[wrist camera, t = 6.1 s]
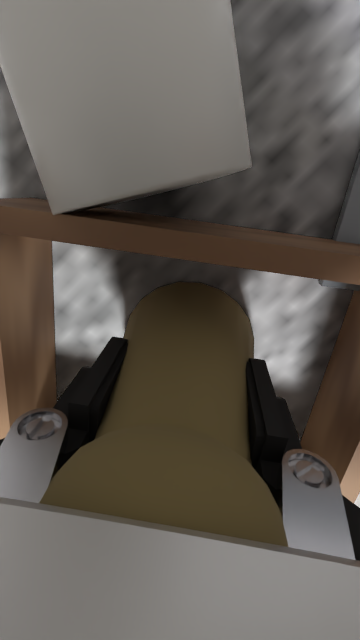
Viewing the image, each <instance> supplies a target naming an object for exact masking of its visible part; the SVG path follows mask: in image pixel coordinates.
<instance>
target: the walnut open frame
mask: <svg viewBox="0 0 360 640" xmlns="http://www.w3.org/2000/svg"><path fill="white" fill-rule="evenodd" d="M52 241H57V242H64V243H71V244H78V245H85V246H92V247H99V248H106V249H113V250H120V251H127V252H134V253H141V254H148V255H155V256H162V257H169V258H175V259H182V260H189V261H196V262H203V263H210V264H217V265H224V266H231V267H238V268H245V269H252V270H259V271H266V272H273V273H280V274H286V275H293V276H300V277H307V278H314V279H321V280H328V281H335V282H342V283H349V284H356V285H360V244H354V243H346V242H339V241H335V240H332V239H324V238H317V237H310V236H303V235H296V234H289V233H281V232H274V231H267V230H260V229H253V228H245V227H238V226H231V225H224V224H217V223H209V222H202V221H195V220H188V219H181V218H174V217H166V216H159V215H152V214H145V213H138V212H130V211H123V210H116V209H109V208H102V207H99V208H94V209H89V210H83V211H76V212H69V213H62V214H56V215H53V214H52V211H51V208H50V205H49V203H48V200H44V199H37V198H6V199H0V439H3V438H5V437H6V435H7V433H8V431H9V429H10V428H11V426H12V424H13V423H14V421H15V420H16V419H17V418H18V417H20V416H21V415H22V414H24V413H26V412H28V411H30V410H34V409H38V408H53V407H54V406H55V404H56V403H57V390H56V359H55V329H54V299H53V268H52ZM300 444H301V447H302V449H303V450H308V451H311V452H313V453H316V454H317V455H319V456H321V457H322V458H324V459H325V460H326V461H327V462H328V463H329V464H330V465H331V466H332V467H333V468H334V470H335V471H336V473H337V476H338V478H339V483H340V488H341V493H342V495H343V496H345V497H346V498H347V499H348V500H350V501H351V502H352V503H354V502H355V500H356V498H357V496H358V494H359V492H360V290H359V291H355V290H354V293H353V295H352V298H351V301H350V304H349V307H348V309H347V312H346V315H345V318H344V321H343V324H342V326H341V329H340V332H339V335H338V338H337V340H336V343H335V346H334V349H333V352H332V355H331V357H330V360H329V363H328V366H327V369H326V371H325V374H324V377H323V380H322V383H321V386H320V388H319V391H318V394H317V397H316V400H315V402H314V405H313V408H312V411H311V414H310V417H309V419H308V422H307V425H306V428H305V431H304V433H303V436H302V439H301V442H300Z"/></svg>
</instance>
